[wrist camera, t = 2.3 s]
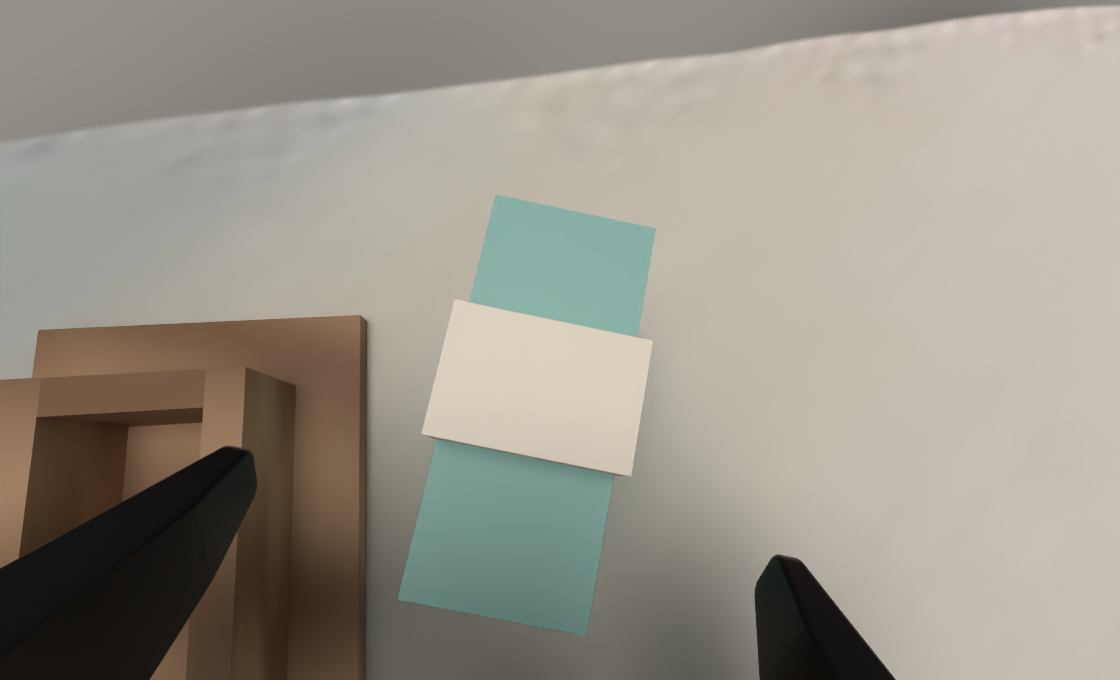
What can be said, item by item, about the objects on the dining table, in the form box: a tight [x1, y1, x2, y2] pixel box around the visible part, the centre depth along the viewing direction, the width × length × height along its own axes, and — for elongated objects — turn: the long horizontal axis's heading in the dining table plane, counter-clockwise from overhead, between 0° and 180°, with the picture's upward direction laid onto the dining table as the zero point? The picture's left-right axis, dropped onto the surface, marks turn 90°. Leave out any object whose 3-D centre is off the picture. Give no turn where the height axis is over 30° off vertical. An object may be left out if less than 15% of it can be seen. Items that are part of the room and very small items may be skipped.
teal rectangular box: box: [397, 195, 656, 636], centre depth 14 cm, size 7×3×12 cm, turn 169°
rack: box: [0, 315, 367, 680], centre depth 16 cm, size 16×10×4 cm, turn 4°
